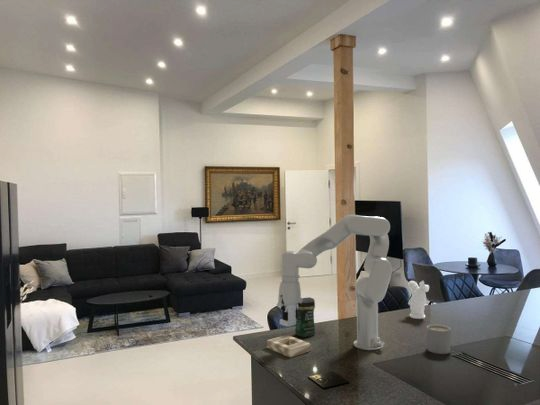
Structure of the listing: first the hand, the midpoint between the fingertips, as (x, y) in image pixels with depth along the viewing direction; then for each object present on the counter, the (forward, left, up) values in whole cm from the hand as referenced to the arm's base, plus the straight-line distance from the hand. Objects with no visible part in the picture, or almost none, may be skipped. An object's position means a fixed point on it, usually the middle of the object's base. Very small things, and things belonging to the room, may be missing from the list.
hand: (290, 318), depth 192 cm
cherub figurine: (-8, -93, -15) cm, 95 cm away
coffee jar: (+11, -20, -15) cm, 27 cm away
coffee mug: (-43, -53, -15) cm, 70 cm away
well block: (+1, 0, -14) cm, 14 cm away
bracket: (+2, 0, -3) cm, 3 cm away
